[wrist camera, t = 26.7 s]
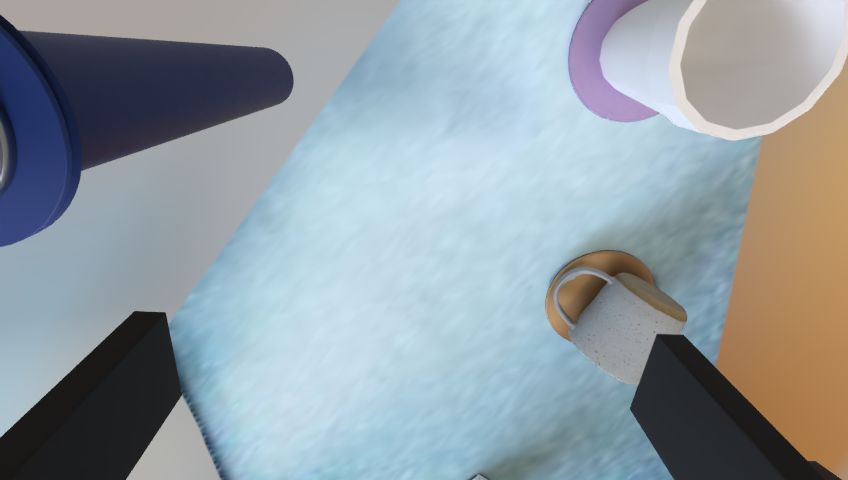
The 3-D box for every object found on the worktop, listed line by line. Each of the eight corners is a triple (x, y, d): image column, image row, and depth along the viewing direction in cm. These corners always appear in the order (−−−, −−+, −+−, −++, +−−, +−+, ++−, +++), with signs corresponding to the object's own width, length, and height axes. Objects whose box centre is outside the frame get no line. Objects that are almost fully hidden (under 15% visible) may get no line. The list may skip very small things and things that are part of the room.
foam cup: (722, 44, 34) (891, 37, 22) (631, 135, 36) (736, 173, 24) (648, -47, 31) (793, -112, 19) (555, 58, 34) (632, 58, 22)
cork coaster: (535, 339, 45) (536, 341, 45) (558, 246, 41) (559, 247, 40) (635, 346, 46) (636, 349, 45) (668, 255, 41) (670, 256, 41)
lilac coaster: (555, 115, 36) (556, 115, 36) (587, -37, 32) (589, -38, 31) (679, 127, 37) (682, 128, 36) (727, -20, 32) (731, -21, 32)
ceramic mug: (666, 286, 42) (715, 332, 35) (616, 347, 45) (652, 400, 38) (578, 242, 40) (611, 281, 33) (532, 308, 43) (553, 356, 36)
